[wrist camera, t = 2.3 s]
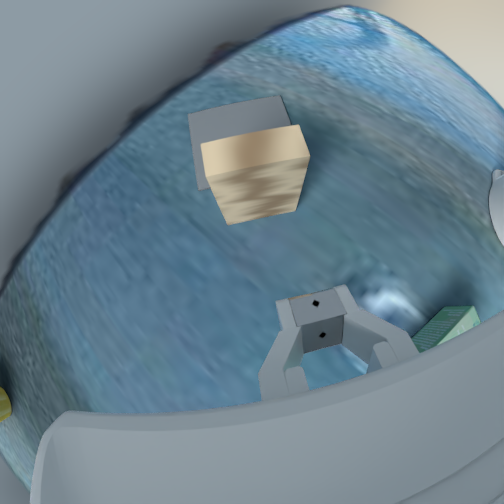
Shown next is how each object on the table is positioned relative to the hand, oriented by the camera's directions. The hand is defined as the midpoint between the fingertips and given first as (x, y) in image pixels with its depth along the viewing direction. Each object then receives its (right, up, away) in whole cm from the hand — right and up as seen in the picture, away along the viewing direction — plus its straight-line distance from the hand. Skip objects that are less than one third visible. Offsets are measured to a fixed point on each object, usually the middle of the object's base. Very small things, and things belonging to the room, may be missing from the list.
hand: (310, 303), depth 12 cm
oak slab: (-1, +8, +25) cm, 27 cm away
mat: (-4, +19, +27) cm, 34 cm away
